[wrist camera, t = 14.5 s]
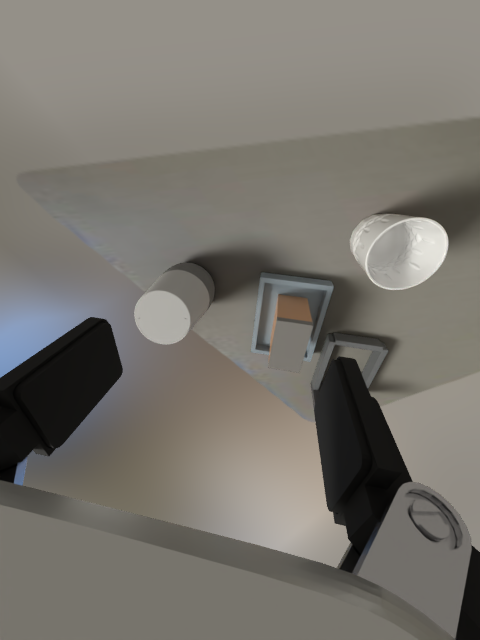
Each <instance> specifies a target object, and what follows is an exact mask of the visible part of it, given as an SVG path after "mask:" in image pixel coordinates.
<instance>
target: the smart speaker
mask: <svg viewBox="0 0 480 640" xmlns="http://www.w3.org/2000/svg"><path fill="white" fill-rule="evenodd" d="M214 293H215V287H214V282H213V280H212V278H211V276H210V275H209V273H208V272H207V271H206V270H205V269H204V268H202V267H201V266H199V265H196V264H193V263H180V264H177V265H174V266H172V267H171V268H169V269H168V270H167V271H165V272H164V273H163V274H162V275H161V276H160V277H159V278H158V279H157V280H156V281H155V283H154V284H153V285H152V286H151V287H150V288H149V289H148V290H147V291H146V292H145V294H144V295H143V296H142V297H141V298H140V299H139V301H138V302H137V305H136V307H135V314H134V315H135V321H136V324H137V327H138V328H139V330H140V331H141V333H142V334H143V335H144V336H145V337H146V338H148V339H149V340H151V341H153V342H155V343H159V344H172V343H176V342H178V341H180V340H181V339H182V338H184V337H185V336H186V335H187V333H188V332H189V331H190V330H191V329H192V328H193V326H194V325H195V324H196V323H197V322H198V321H199V319H200V318H201V317H202V316H203V315H204V313H205V312H206V311H207V310H208V308H209V307H210V305H211V303H212V301H213V298H214Z"/></svg>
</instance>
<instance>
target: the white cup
mask: <svg viewBox="0 0 480 640" xmlns="http://www.w3.org/2000/svg"><path fill="white" fill-rule="evenodd" d="M448 246H449V241H448V236H447V233H446V231H445V229H444V228H443V227H442V226H441V225H440V224H439V223H438V222H436V221H434V220H432V219H428V218H423V217H415V216H408V215H400V214H375V215H371V216H370V217H368V218H366V219H364V220H362V221H361V222H360V223H359V224H358V226H357V227H356V228H355V229H354V230H353V233H352V236H351V239H350V248H351V252H352V253H353V254H354V256H355V258H356V260H357V262H358V263H359V265H360V266H361V268H362V269H363V270H364V271H365V273H366V274H367V275H368V277H369V278H370V279H371V281H372V282H373V283H375V284H376V285H377V286H379V287H382V288H384V289H389V290H401V289H407V288H410V287H413V286H416V285H418V284H420V283H422V282H423V281H425V280H426V279H428V278H429V277H430V276H432V275H433V274H434V273H435V272H436V271H437V270H438V269H439V267H440V266H441V264H442V263H443V261H444V259H445V257H446V255H447V252H448Z"/></svg>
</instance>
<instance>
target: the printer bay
mask: <svg viewBox="0 0 480 640" xmlns="http://www.w3.org/2000/svg"><path fill="white" fill-rule="evenodd" d="M334 345H340V346H347V347H353V348H360V349H366V350H373V351H372V353H371V355H370V357H369V360H368V362H367V364H366V366H365V368H364V370H363V372H362V376H363V379H364V381H365V383H366V386H367V388H369V386H370V384H371V382H372V380H373V379H374V377H375V375H376V373H377V371H378V369H379V367H380V365H381V364H382V362H383V360H384V358H385V356H386V354H387V352H388V349H387V347H386V346H385V344H384V343H383V342H380V341H379V339H375V338H368V337H361V336H354V335H348V334H341V333H333V335H332V334H327V337H326V340H325V343H324V346H323V349H322V352H321V355H320V358H319V361H318V363H317V366H316V369H315V372H314V375H313V378H312V381H311V391H312V398H313V405H314V409H315V403H316V401H317V398H318V395H319V393H320V390H321V387H322V385H323V383H322V382H321V381H322V378H323V375H324V372H325V370H326V367H327V364H328V362H329V359H330V356H331V353H332V351H333V348H334Z"/></svg>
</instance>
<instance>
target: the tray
mask: <svg viewBox="0 0 480 640" xmlns="http://www.w3.org/2000/svg"><path fill="white" fill-rule="evenodd" d="M333 288H334V286H333V284H332V282H331V281H328V280H320V279H312V278H304V277H296V276H288V275H280V274H272V273H264V272H261V276H260V283H259V291H258V299H257V307H256V315H255V323H254V331H253V339H252V347H251V352H254V353H260V354H266V355H269V351H270V339H271V332H272V326H273V321H274V315H275V310H276V304H277V298H278V294H281V295H288V296H295V297H303V298H307V299H308V304H309V308H310V313H311V318H312V322H313V328H312V332H311V335H310V339H309V342H308V345H307V349H306V352H305V356H304V359H303V361H309V362H310V361H311V358H312V355H313V352H314V349H315V345H316V342H317V339H318V336H319V333H320V330H321V326H322V323H323V320H324V317H325V314H326V310H327V307H328V304H329V301H330V298H331V294H332V291H333Z"/></svg>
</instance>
